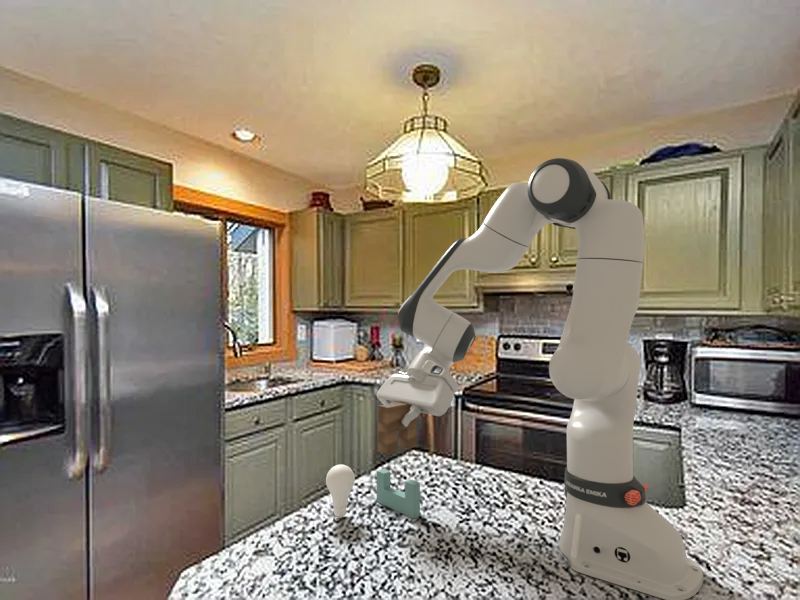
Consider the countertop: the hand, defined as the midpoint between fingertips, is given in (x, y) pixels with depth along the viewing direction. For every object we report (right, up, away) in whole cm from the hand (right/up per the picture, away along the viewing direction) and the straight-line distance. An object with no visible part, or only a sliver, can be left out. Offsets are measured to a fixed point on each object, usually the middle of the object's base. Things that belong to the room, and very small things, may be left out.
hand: (395, 422), depth 101 cm
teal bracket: (0, -19, 0) cm, 19 cm away
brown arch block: (0, -6, 0) cm, 6 cm away
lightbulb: (-12, -19, -5) cm, 23 cm away
